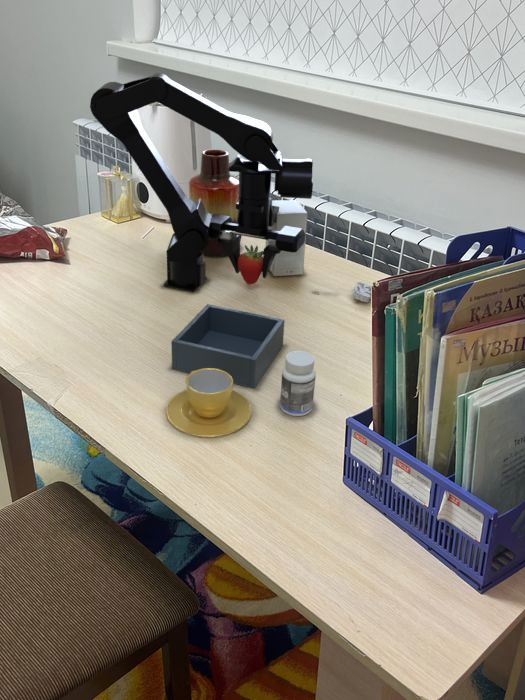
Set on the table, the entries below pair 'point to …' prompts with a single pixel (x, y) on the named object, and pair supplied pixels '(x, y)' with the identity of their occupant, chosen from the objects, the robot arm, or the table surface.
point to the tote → (229, 343)
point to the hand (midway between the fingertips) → (251, 274)
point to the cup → (208, 405)
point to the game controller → (361, 291)
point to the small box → (293, 217)
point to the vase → (215, 192)
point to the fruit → (250, 265)
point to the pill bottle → (298, 383)
